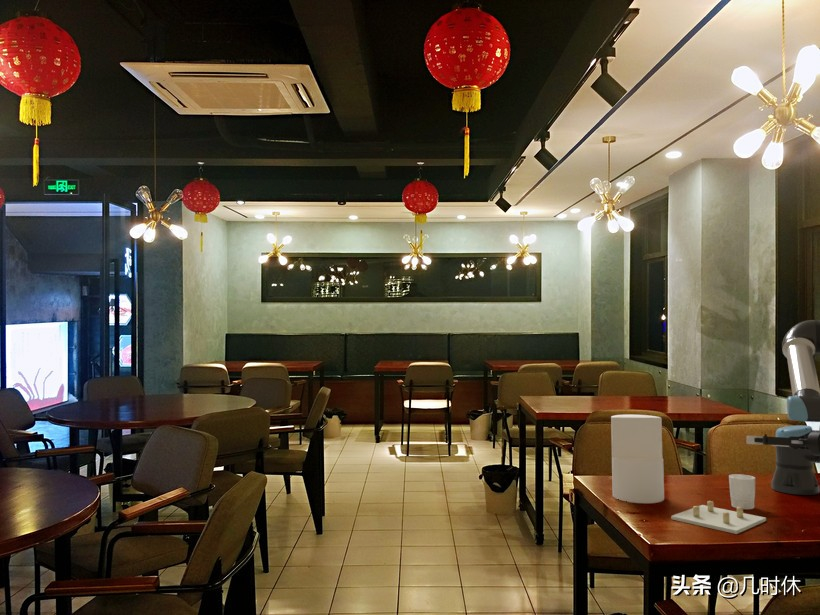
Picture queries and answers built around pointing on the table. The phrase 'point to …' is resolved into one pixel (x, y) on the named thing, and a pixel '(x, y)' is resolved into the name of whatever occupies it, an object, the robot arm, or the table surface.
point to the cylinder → (637, 458)
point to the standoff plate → (719, 518)
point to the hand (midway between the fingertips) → (759, 440)
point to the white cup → (742, 491)
